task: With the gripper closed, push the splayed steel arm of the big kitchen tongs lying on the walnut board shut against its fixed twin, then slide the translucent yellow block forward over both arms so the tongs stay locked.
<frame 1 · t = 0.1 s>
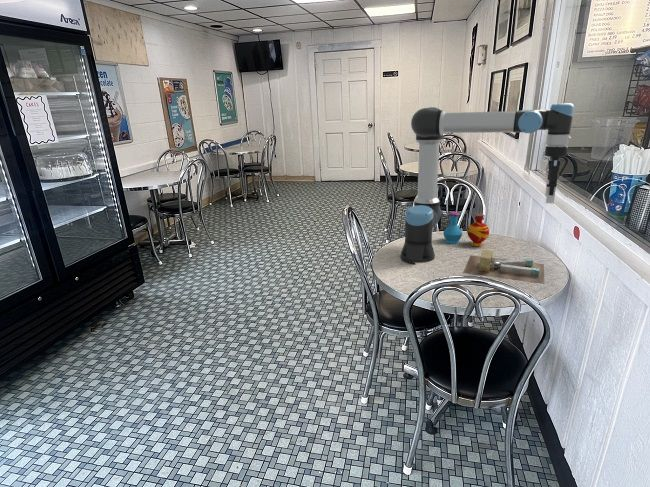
hand: (549, 199, 159), 28 cm above the table, fingers open, 13 cm apart
walnut board: (503, 270, 161), on the table
red yellow vase: (477, 244, 193), on the table
tongs fixed arm: (495, 268, 161), resting on walnut board
blue vase: (452, 241, 199), on the table
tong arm: (512, 263, 161), point 3 cm above the table, hinge at 30.0°
translucent yellow block: (485, 260, 162), point 4 cm above the table, slide at 0.0 cm
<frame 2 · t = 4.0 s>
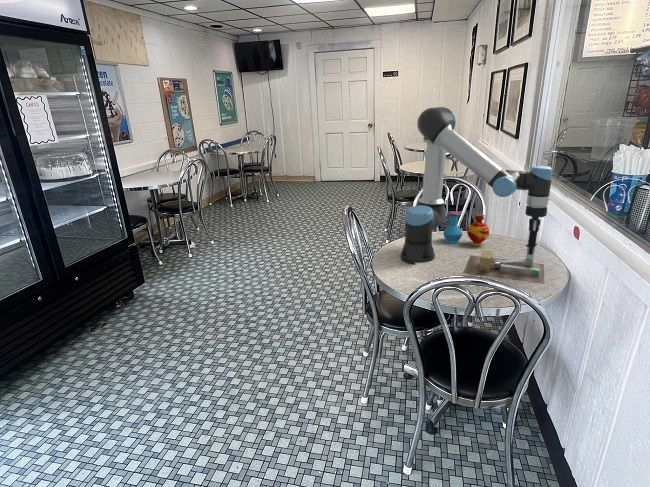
hand: (529, 260, 164), 3 cm above the table, fingers closed
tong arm: (512, 263, 161), point 3 cm above the table, hinge at 30.0°, touching gripper
everything else where it was.
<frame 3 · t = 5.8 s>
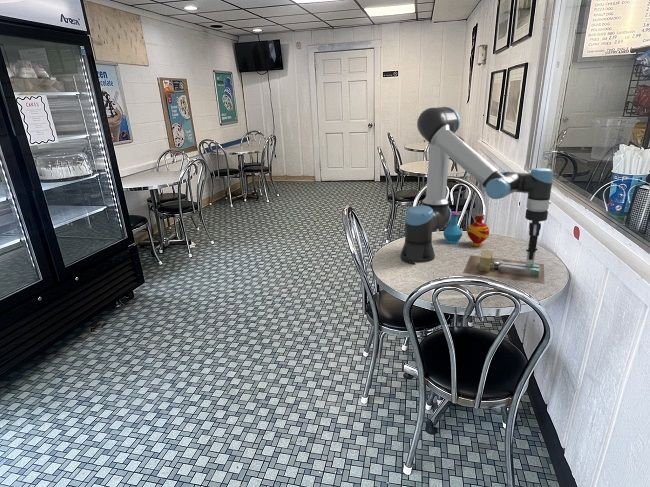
hand: (529, 266, 158), 3 cm above the table, fingers closed
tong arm: (514, 266, 158), point 3 cm above the table, hinge at 3.9°, touching gripper
everything else where it was.
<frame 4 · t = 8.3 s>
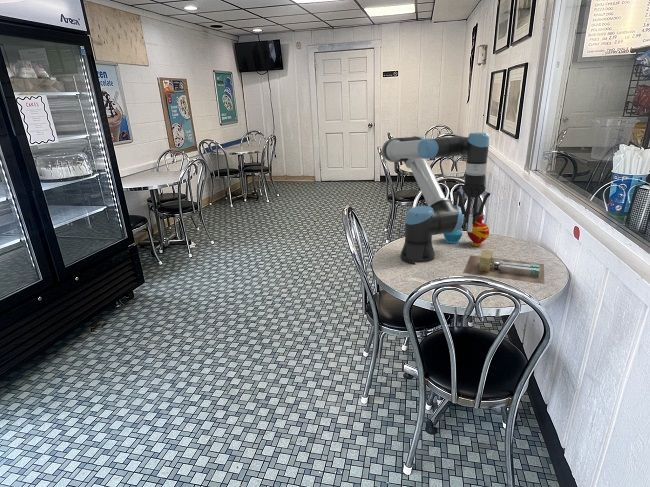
hand: (469, 231, 161), 16 cm above the table, fingers closed
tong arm: (514, 266, 158), point 3 cm above the table, hinge at 3.9°
everything else where it was.
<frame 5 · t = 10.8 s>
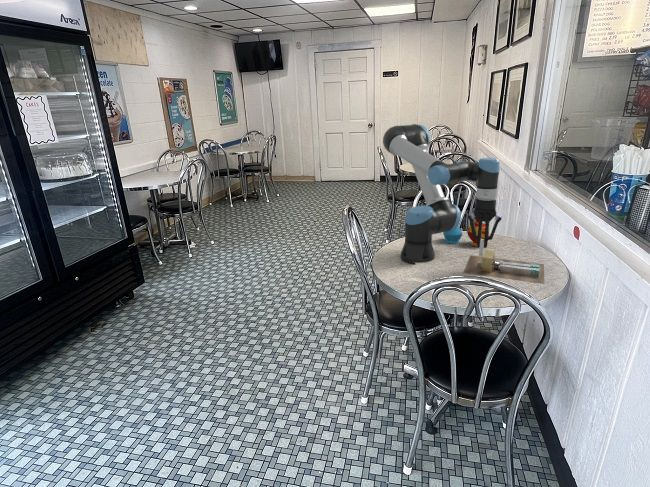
hand: (481, 254, 161), 7 cm above the table, fingers closed
translucent yellow block: (488, 260, 161), point 4 cm above the table, slide at 0.8 cm, touching gripper
everything else where it was.
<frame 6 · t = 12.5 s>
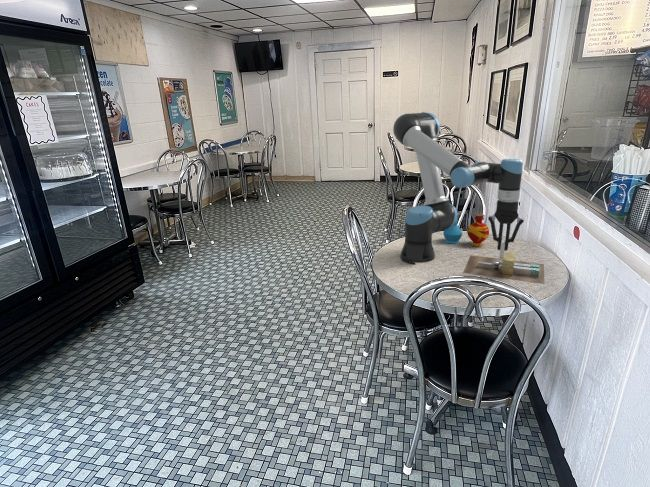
hand: (501, 257, 158), 6 cm above the table, fingers closed
translucent yellow block: (508, 263, 158), point 4 cm above the table, slide at 8.4 cm, touching gripper
everything else where it was.
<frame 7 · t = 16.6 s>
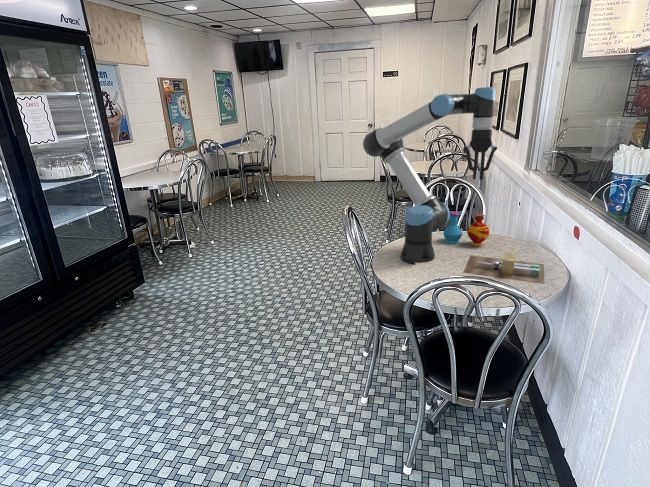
hand: (477, 187, 165), 32 cm above the table, fingers closed
translucent yellow block: (508, 263, 158), point 4 cm above the table, slide at 8.5 cm
everything else where it was.
at the end: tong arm at +4° (first picture: +30°); translucent yellow block slide at 8.5 cm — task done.
